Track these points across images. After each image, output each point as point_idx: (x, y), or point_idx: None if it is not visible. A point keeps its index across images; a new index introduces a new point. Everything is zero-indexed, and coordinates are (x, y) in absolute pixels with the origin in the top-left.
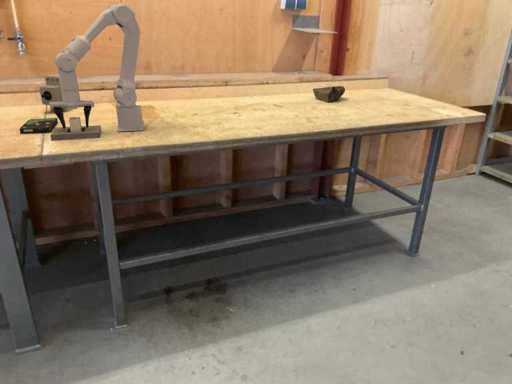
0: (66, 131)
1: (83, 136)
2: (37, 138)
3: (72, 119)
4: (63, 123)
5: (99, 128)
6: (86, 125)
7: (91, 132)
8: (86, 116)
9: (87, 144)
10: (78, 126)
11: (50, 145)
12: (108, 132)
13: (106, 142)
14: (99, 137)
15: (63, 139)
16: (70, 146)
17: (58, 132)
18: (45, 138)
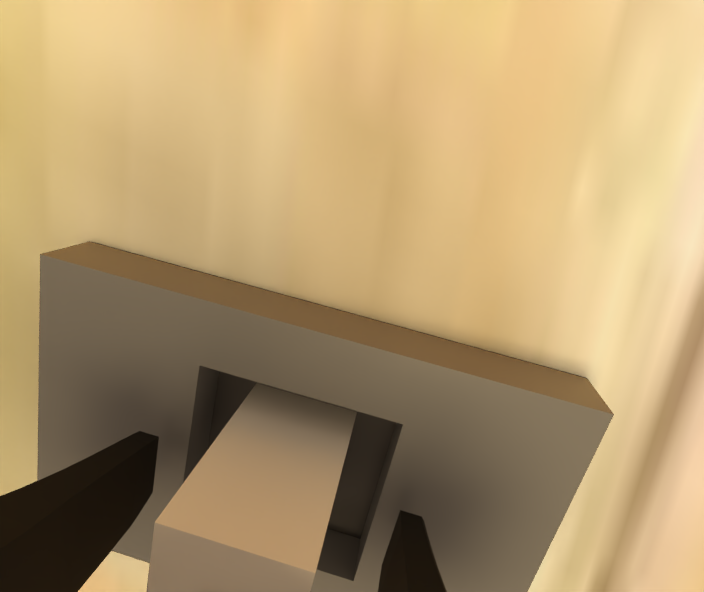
0: (394, 470)
1: (238, 294)
2: (696, 527)
3: (257, 558)
4: (410, 562)
5: (42, 414)
6: (134, 446)
7: (125, 289)
8: (4, 519)
9: (230, 14)
10: (233, 452)
11: (652, 180)
12: (14, 392)
13: (21, 5)
14: (90, 242)
15: (456, 345)
16: (435, 12)
17: (490, 475)
18: (619, 488)
